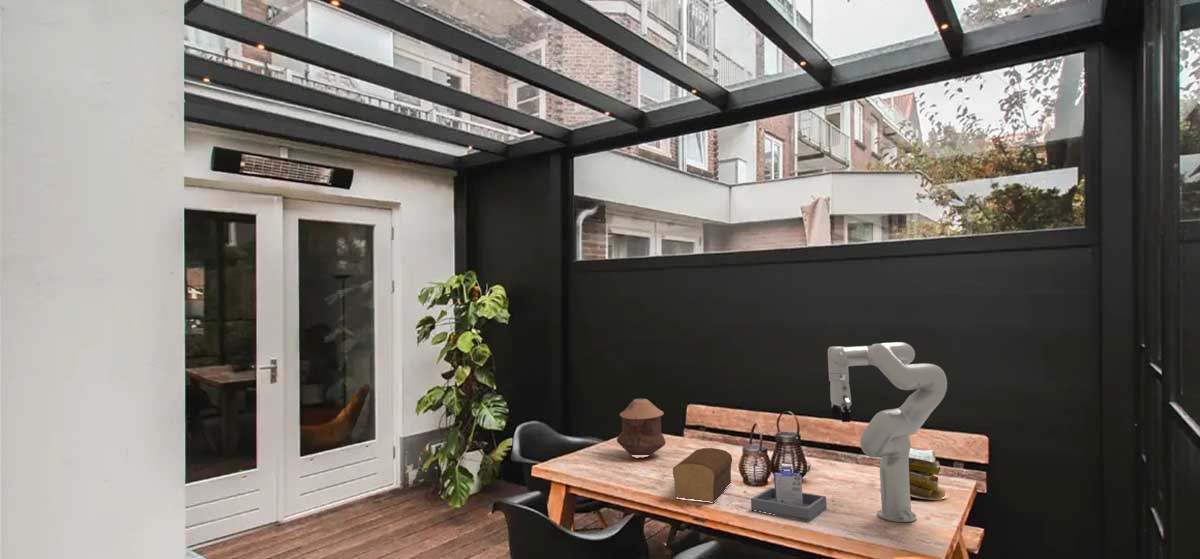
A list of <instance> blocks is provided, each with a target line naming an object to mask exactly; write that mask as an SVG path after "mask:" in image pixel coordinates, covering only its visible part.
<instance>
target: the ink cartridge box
mask: <svg viewBox="0 0 1200 559" xmlns="http://www.w3.org/2000/svg"><path fill="white" fill-rule="evenodd" d="M783 469H790V471H784V470H783ZM773 481H774V482H773V484H774V488H775V502H778V503H784V504H789V505H795V506H800V507H803V496H802V493H803V476H802V474H800V473H792V469H791V467H782V471H781V472H773Z"/></svg>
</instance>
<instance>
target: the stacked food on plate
mask: <svg viewBox="0 0 1200 559" xmlns="http://www.w3.org/2000/svg"><path fill="white" fill-rule="evenodd" d="M936 459H937V458H936V454H935V451H934V449H929V450H928V449H927V450H924V449H917V448H912V447H910V452H909V483H910V497H913V498H917V499H924V500H928V501H929V500H930V501H943V500H942V497H944V496H945V492H946V491H947V490H946V489H945V488H943V487H941V486H939V477H938V475H939V474H940V471H941V466H940V462H939V460H936Z"/></svg>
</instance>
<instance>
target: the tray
mask: <svg viewBox="0 0 1200 559" xmlns="http://www.w3.org/2000/svg"><path fill="white" fill-rule="evenodd" d="M802 496H803V507H800V506H795V505H789V504H784V503H778V502H775V487H769V488H767V489H766V490H764V491H762V492H760V493H758V494H757V495H754V496H753V497H751V498H750V509H752V510H756V511H761V512H766V513H771V514H775V515H774V516H776V515H780V516H779V517H781V516H784V517H783V518H786V517H789V518H788V519H791V518H794V519H793V520H796V519H798V520H797V521H802V522H808V523H809V521H810V522H811V521H812V520H814V519H815V518H816V517H817V516H819V515H820V514H822V513H823V512H824V511H825V510H827V496H825V495H819V494H813V493H807V492H802Z"/></svg>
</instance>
